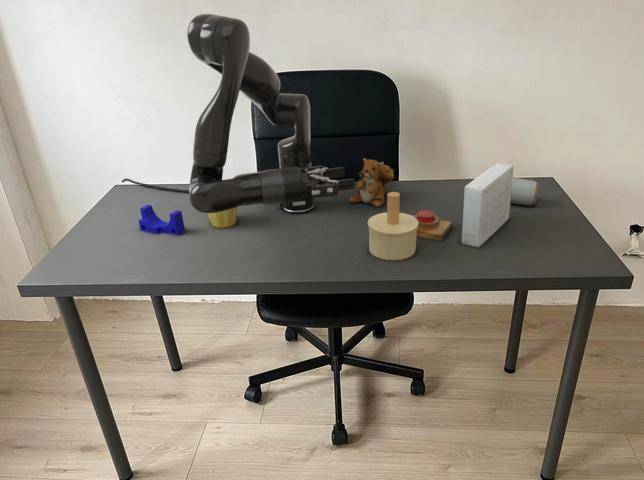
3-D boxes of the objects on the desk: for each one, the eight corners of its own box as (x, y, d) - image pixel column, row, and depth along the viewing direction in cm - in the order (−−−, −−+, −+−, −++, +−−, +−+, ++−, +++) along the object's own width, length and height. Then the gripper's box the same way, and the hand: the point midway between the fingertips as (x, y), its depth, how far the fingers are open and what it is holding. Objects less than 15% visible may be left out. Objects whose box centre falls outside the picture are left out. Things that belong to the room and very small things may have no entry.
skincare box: (490, 215, 156) (497, 161, 148) (509, 219, 153) (516, 165, 145) (458, 243, 141) (464, 185, 134) (478, 248, 139) (485, 189, 131)
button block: (398, 233, 147) (398, 221, 146) (410, 220, 154) (410, 208, 153) (441, 240, 143) (442, 228, 141) (451, 227, 150) (452, 215, 148)
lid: (359, 232, 134) (359, 199, 129) (379, 213, 143) (379, 181, 139) (407, 241, 129) (409, 207, 124) (425, 221, 139) (426, 188, 134)
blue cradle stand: (140, 230, 153) (136, 210, 150) (151, 224, 156) (147, 204, 153) (174, 237, 148) (170, 217, 145) (185, 230, 152) (181, 211, 149)
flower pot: (249, 218, 158) (245, 186, 153) (231, 232, 150) (226, 199, 145) (218, 213, 161) (213, 182, 156) (198, 228, 153) (193, 195, 148)
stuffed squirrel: (347, 203, 166) (346, 161, 159) (370, 188, 176) (370, 149, 170) (376, 210, 161) (376, 167, 155) (397, 194, 172) (398, 153, 165)
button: (415, 221, 146) (415, 215, 145) (420, 215, 150) (420, 209, 149) (430, 224, 145) (431, 218, 144) (435, 218, 148) (436, 212, 147)
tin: (361, 254, 137) (361, 229, 134) (380, 235, 146) (380, 211, 143) (406, 264, 132) (406, 238, 129) (421, 243, 142) (423, 219, 138)
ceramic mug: (535, 209, 159) (539, 184, 155) (506, 206, 161) (509, 182, 157) (536, 197, 167) (540, 173, 164) (508, 194, 170) (512, 170, 166)
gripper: (284, 179, 115) (358, 171, 119) (273, 160, 127) (340, 152, 131) (287, 212, 118) (358, 203, 122) (276, 190, 130) (341, 182, 134)
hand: (349, 177), depth 126 cm, fingers open, 8 cm apart
